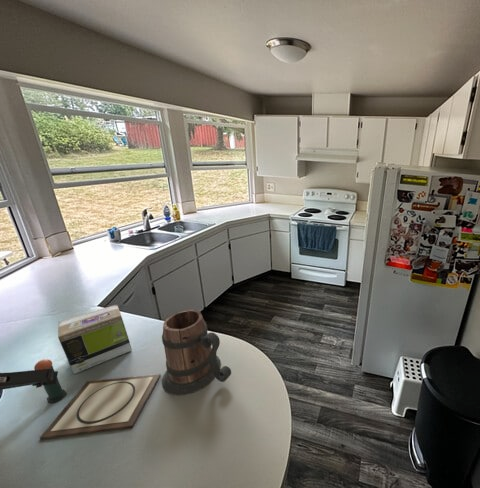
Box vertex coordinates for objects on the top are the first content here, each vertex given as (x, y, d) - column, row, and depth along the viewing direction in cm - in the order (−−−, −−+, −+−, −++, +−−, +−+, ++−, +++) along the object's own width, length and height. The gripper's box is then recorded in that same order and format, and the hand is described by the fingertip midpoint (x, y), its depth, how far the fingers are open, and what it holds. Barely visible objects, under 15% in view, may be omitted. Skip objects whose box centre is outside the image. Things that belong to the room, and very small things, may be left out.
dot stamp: (44, 404, 68) (26, 367, 64) (55, 392, 72) (39, 356, 67) (59, 402, 69) (43, 365, 64) (69, 391, 72) (55, 355, 68)
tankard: (148, 383, 75) (133, 329, 69) (194, 346, 90) (185, 298, 84) (208, 412, 68) (199, 354, 61) (248, 366, 83) (243, 315, 76)
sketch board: (40, 440, 60) (38, 436, 60) (87, 383, 75) (86, 380, 74) (132, 427, 63) (131, 424, 63) (160, 375, 78) (160, 372, 78)
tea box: (127, 336, 94) (117, 303, 89) (132, 351, 87) (122, 315, 82) (72, 357, 84) (57, 320, 79) (72, 375, 77) (57, 336, 72)
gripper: (-237, 451, 34) (-70, 423, 52) (14, 395, 43) (82, 388, 61) (-205, 390, 37) (-57, 384, 55) (24, 349, 46) (86, 355, 64)
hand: (16, 386), depth 58 cm, fingers open, 13 cm apart
